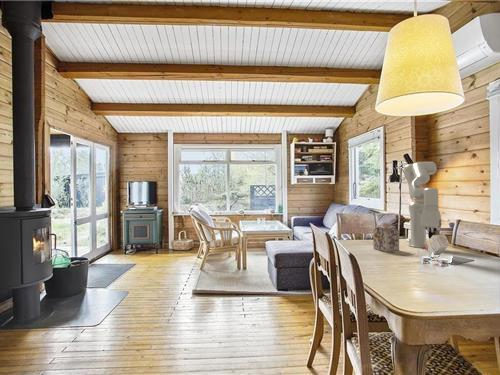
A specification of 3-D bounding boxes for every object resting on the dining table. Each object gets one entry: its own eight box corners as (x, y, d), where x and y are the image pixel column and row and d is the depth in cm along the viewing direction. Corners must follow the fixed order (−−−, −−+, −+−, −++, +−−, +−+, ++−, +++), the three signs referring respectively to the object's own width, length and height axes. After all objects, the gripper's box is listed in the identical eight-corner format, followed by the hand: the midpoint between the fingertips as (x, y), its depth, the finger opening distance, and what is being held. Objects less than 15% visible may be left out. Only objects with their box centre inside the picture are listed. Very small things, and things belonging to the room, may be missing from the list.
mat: (428, 259, 168) (428, 258, 168) (447, 255, 178) (447, 254, 178) (454, 265, 156) (454, 264, 156) (474, 260, 165) (474, 259, 165)
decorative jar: (385, 247, 204) (385, 221, 204) (399, 250, 194) (399, 223, 194) (372, 249, 199) (372, 222, 199) (386, 252, 189) (386, 224, 189)
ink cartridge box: (423, 245, 179) (434, 231, 168) (431, 245, 179) (443, 231, 168) (429, 257, 173) (442, 244, 162) (438, 257, 173) (450, 244, 162)
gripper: (415, 207, 181) (415, 237, 181) (440, 209, 168) (440, 241, 168) (422, 207, 185) (423, 236, 185) (447, 208, 171) (448, 239, 171)
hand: (431, 238), depth 176 cm, fingers closed
